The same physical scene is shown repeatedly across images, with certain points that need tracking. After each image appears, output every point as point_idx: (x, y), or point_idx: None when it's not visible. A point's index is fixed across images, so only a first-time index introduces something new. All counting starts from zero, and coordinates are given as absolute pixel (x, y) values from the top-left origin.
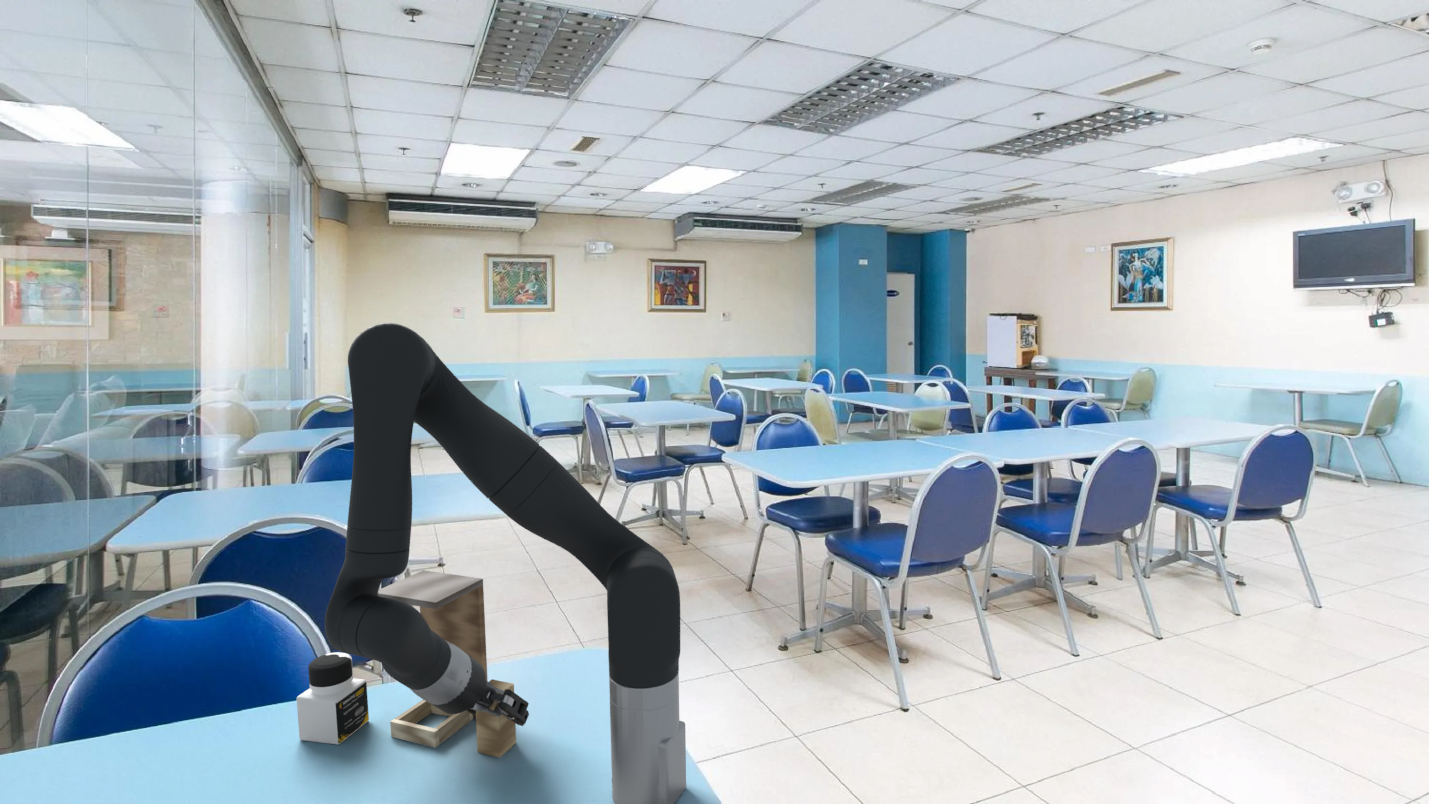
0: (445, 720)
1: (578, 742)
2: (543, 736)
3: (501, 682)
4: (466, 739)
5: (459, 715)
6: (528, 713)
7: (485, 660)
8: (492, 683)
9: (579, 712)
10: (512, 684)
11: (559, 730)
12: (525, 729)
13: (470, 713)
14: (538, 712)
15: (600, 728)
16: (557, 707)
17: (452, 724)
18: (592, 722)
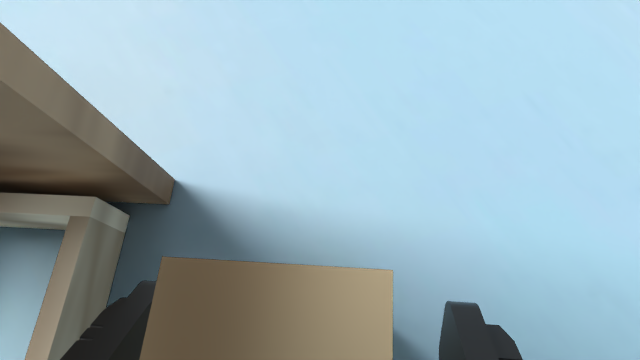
0: (30, 347)
1: (596, 235)
2: (442, 238)
3: (271, 283)
4: None
5: (76, 280)
6: (513, 344)
7: (2, 37)
8: (201, 325)
9: (468, 75)
10: (392, 289)
11: (474, 187)
12: (350, 217)
13: (110, 221)
14: (333, 114)
15: (606, 134)
16: (377, 72)
17: (73, 329)
18: (552, 111)
